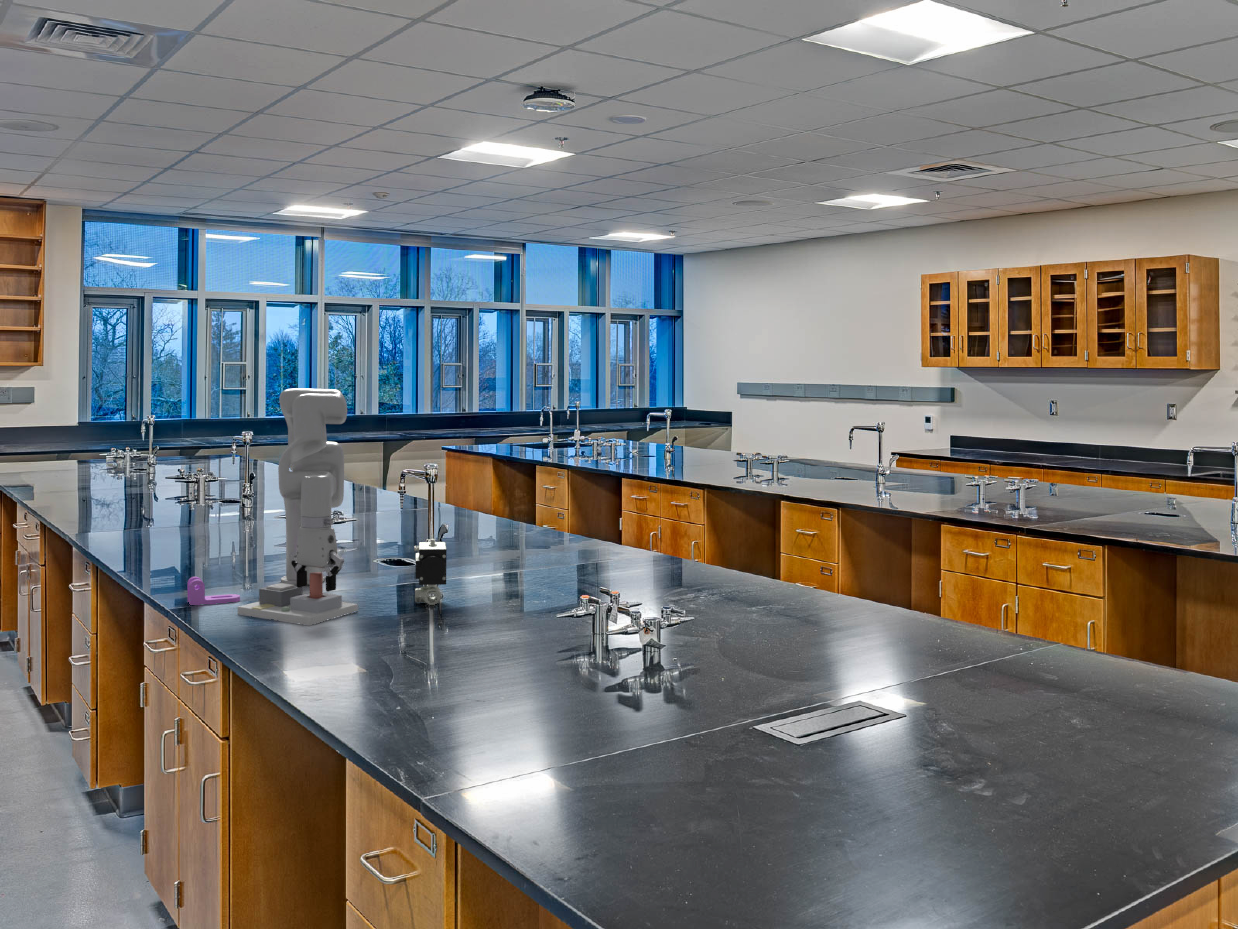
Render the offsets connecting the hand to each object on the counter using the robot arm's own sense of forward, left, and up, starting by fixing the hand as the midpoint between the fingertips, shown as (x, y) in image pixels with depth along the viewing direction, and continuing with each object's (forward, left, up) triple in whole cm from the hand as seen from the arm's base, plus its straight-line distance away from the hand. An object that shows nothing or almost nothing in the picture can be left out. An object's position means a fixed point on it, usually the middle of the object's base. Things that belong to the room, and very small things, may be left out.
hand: (316, 588), depth 261 cm
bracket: (+1, -34, -7) cm, 35 cm away
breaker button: (0, -12, -4) cm, 13 cm away
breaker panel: (0, -6, -7) cm, 9 cm away
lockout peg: (0, 0, -5) cm, 5 cm away
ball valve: (-27, +16, -7) cm, 32 cm away
